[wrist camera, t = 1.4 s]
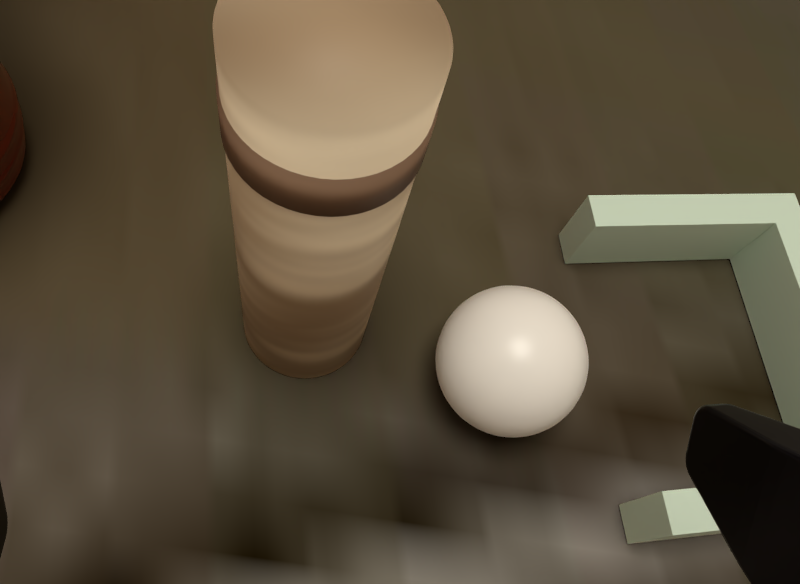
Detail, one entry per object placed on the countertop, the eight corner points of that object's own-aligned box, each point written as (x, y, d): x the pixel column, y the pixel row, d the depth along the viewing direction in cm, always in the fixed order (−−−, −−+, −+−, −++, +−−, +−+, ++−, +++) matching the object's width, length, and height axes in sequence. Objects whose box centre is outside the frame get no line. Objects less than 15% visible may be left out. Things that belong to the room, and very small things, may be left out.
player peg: (387, 350, 24) (499, 91, 12) (272, 400, 22) (270, 165, 11) (334, 248, 25) (389, -77, 13) (223, 291, 23) (172, -29, 12)
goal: (847, 519, 24) (915, 508, 21) (627, 544, 22) (673, 535, 20) (747, 230, 28) (794, 193, 25) (558, 234, 26) (588, 195, 24)
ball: (581, 415, 24) (645, 374, 20) (464, 476, 22) (508, 445, 18) (512, 299, 25) (559, 237, 21) (398, 349, 24) (425, 294, 19)
